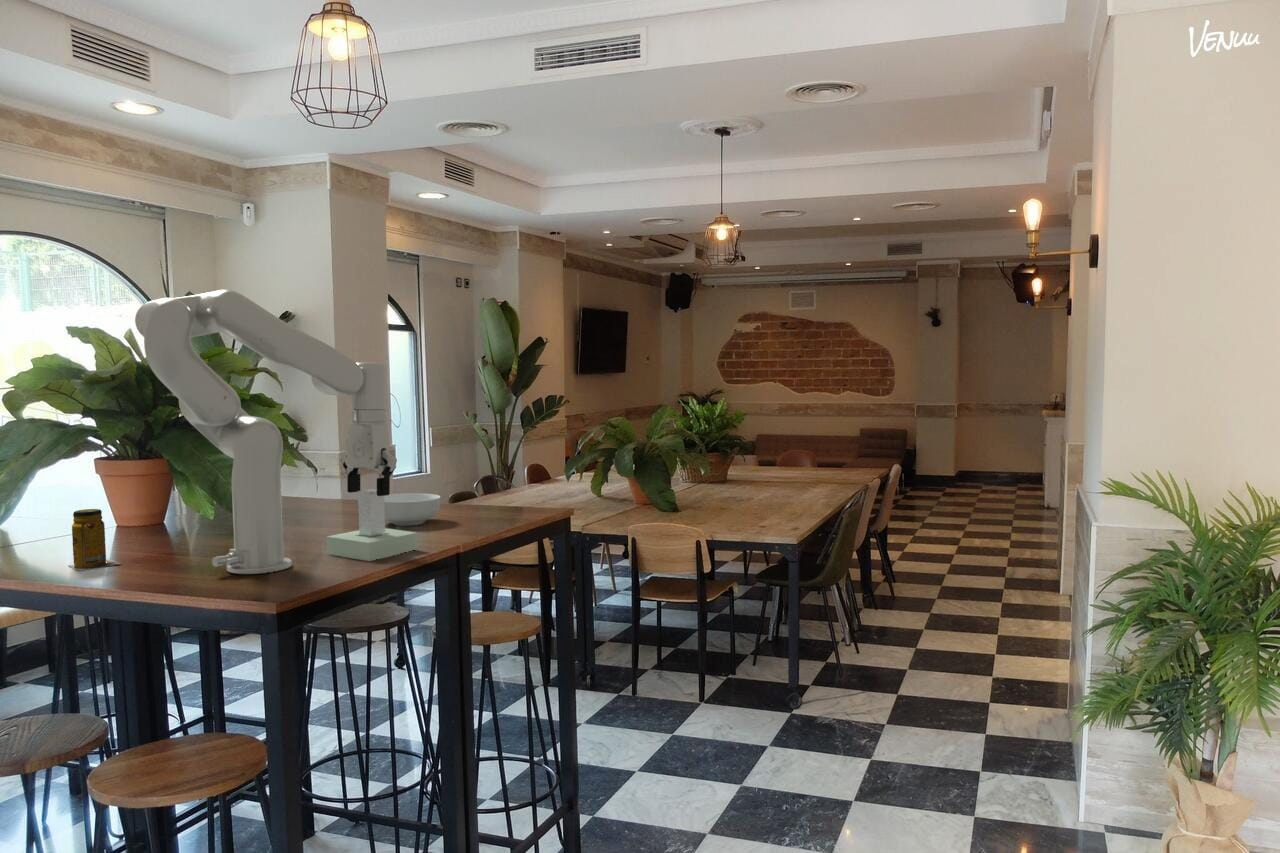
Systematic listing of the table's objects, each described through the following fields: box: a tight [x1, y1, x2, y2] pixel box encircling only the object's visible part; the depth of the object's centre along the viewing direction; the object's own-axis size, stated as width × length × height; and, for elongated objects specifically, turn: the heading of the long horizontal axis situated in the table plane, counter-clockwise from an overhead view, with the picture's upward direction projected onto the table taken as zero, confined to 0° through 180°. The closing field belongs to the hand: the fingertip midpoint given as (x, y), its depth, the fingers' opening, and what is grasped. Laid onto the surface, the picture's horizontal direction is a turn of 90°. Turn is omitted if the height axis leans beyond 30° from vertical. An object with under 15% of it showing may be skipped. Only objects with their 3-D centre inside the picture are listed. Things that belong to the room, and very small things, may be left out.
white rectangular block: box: [357, 488, 386, 538], centre depth 216 cm, size 4×4×14 cm
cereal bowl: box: [384, 492, 442, 526], centre depth 254 cm, size 17×17×7 cm
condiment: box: [68, 508, 122, 571], centre depth 204 cm, size 7×8×12 cm
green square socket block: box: [326, 527, 419, 562], centre depth 216 cm, size 14×14×4 cm
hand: (368, 493), depth 215 cm, fingers open, 9 cm apart
